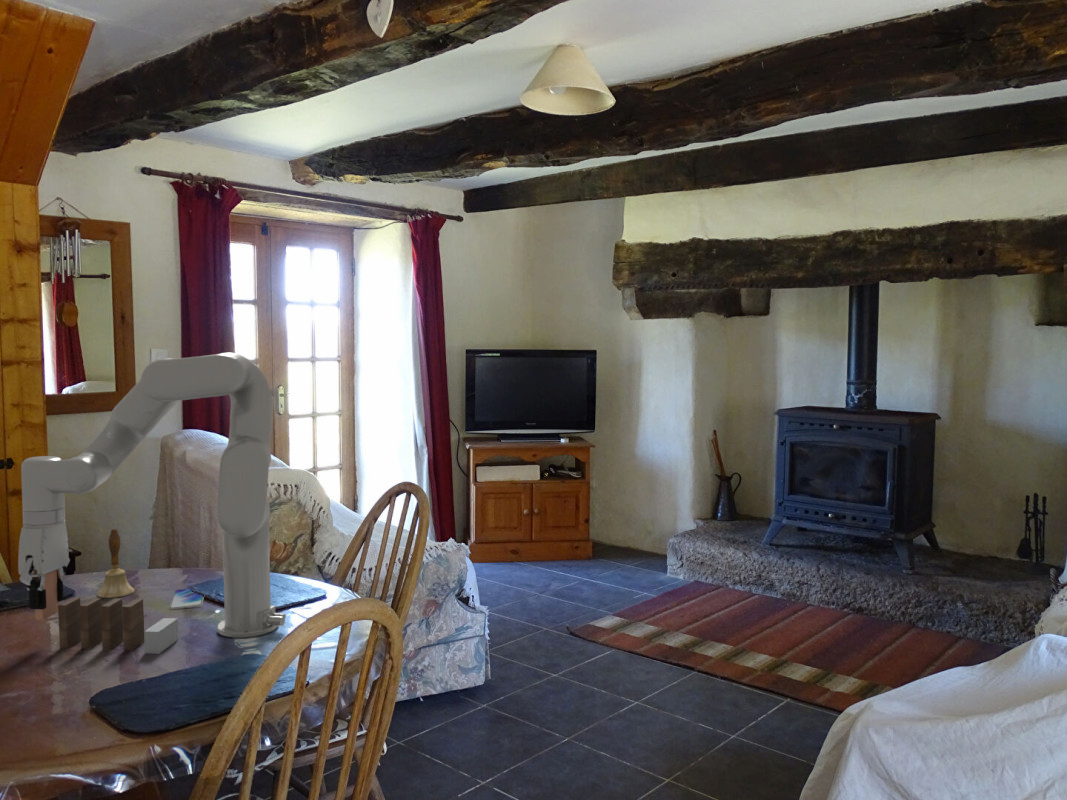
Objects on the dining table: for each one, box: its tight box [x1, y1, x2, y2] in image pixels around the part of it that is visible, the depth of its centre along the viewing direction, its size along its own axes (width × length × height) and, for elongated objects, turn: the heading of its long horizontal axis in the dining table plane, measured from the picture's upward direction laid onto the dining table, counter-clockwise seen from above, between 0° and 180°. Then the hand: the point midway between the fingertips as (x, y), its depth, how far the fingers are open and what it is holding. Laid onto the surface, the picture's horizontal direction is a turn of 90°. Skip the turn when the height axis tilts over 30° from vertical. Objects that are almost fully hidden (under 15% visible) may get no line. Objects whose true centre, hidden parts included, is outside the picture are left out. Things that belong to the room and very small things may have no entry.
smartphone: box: [168, 587, 205, 611], centre depth 206 cm, size 7×1×15 cm
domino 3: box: [80, 597, 102, 650], centre depth 175 cm, size 2×5×9 cm, turn 177°
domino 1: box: [34, 570, 59, 621], centre depth 175 cm, size 2×5×9 cm, turn 177°
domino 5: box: [122, 598, 145, 651], centre depth 175 cm, size 2×5×9 cm, turn 177°
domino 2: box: [58, 597, 81, 650], centre depth 175 cm, size 2×5×9 cm, turn 177°
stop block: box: [143, 617, 179, 655], centre depth 174 cm, size 3×8×4 cm, turn 177°
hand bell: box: [96, 528, 135, 599], centre depth 209 cm, size 8×8×16 cm
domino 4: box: [101, 597, 124, 651], centre depth 175 cm, size 2×5×9 cm, turn 177°
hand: (46, 603), depth 175 cm, fingers closed on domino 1, 4 cm apart
